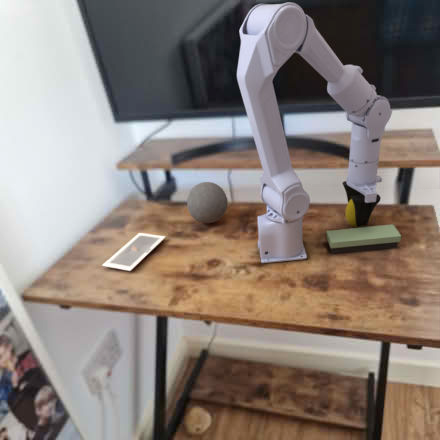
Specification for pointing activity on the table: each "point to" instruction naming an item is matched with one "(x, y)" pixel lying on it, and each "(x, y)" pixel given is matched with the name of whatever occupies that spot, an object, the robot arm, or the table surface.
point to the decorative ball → (207, 202)
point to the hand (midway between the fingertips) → (357, 218)
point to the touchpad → (134, 251)
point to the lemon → (351, 214)
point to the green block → (363, 238)
